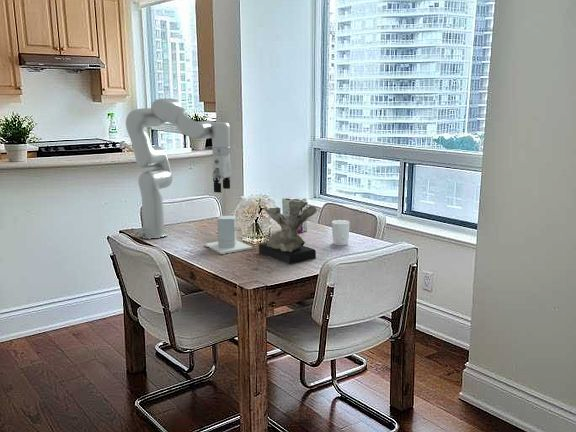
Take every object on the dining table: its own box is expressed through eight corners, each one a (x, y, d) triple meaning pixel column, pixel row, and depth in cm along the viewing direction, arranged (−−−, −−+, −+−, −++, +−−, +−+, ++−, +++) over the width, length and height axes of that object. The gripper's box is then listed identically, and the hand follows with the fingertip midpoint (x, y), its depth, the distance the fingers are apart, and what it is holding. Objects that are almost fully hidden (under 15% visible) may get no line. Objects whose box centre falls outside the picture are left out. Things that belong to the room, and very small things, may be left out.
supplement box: (234, 247, 248) (233, 219, 245) (217, 247, 248) (216, 219, 245) (237, 243, 255) (236, 215, 252) (220, 242, 255) (219, 215, 253)
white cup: (348, 246, 251) (348, 224, 249) (330, 245, 252) (330, 223, 250) (350, 241, 258) (350, 220, 256) (332, 241, 260) (333, 219, 258)
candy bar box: (307, 231, 279) (307, 198, 276) (302, 233, 275) (302, 199, 272) (287, 228, 285) (286, 196, 281) (282, 230, 281) (281, 197, 277)
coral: (254, 251, 245) (253, 202, 241) (292, 243, 257) (292, 196, 252) (287, 265, 225) (287, 211, 221) (328, 256, 237) (328, 205, 232)
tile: (221, 254, 240) (221, 252, 240) (204, 246, 254) (204, 243, 254) (252, 249, 248) (252, 246, 248) (233, 240, 262) (233, 238, 262)
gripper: (221, 153, 236) (222, 194, 240) (236, 149, 252) (237, 187, 256) (204, 153, 238) (205, 193, 242) (221, 148, 255) (222, 186, 258)
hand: (222, 190), depth 249 cm, fingers open, 9 cm apart
